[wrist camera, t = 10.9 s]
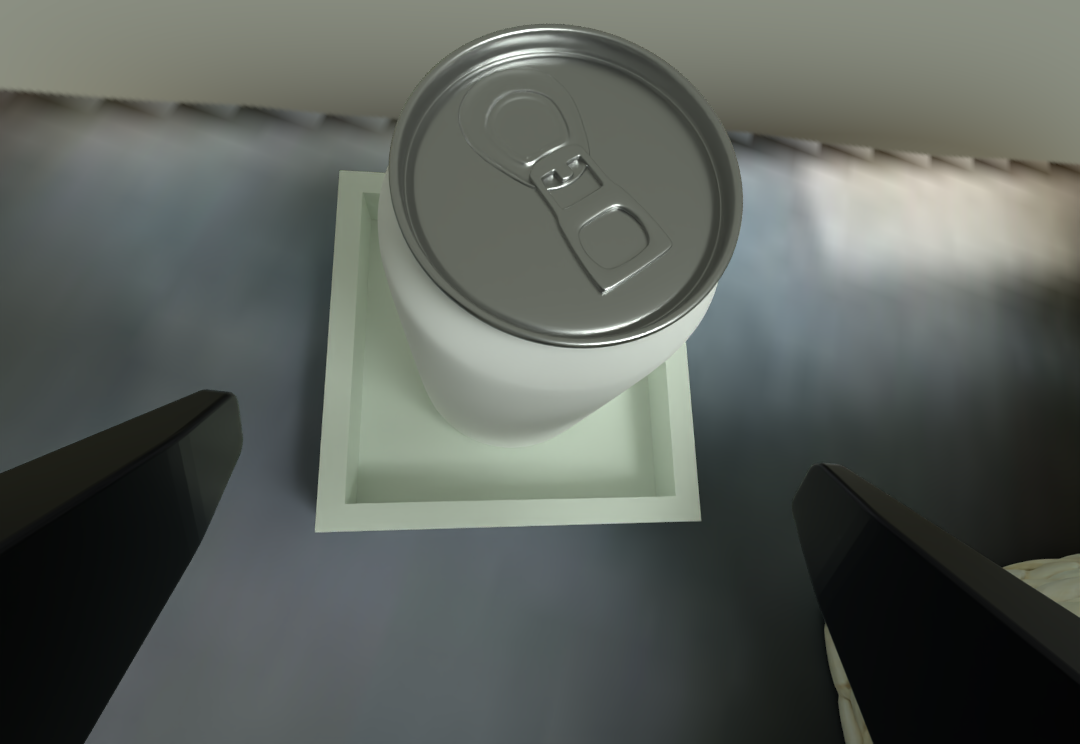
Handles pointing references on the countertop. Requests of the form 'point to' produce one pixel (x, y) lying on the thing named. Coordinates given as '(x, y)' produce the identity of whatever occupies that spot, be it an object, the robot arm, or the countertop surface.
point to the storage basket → (1062, 580)
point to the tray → (458, 461)
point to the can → (552, 225)
